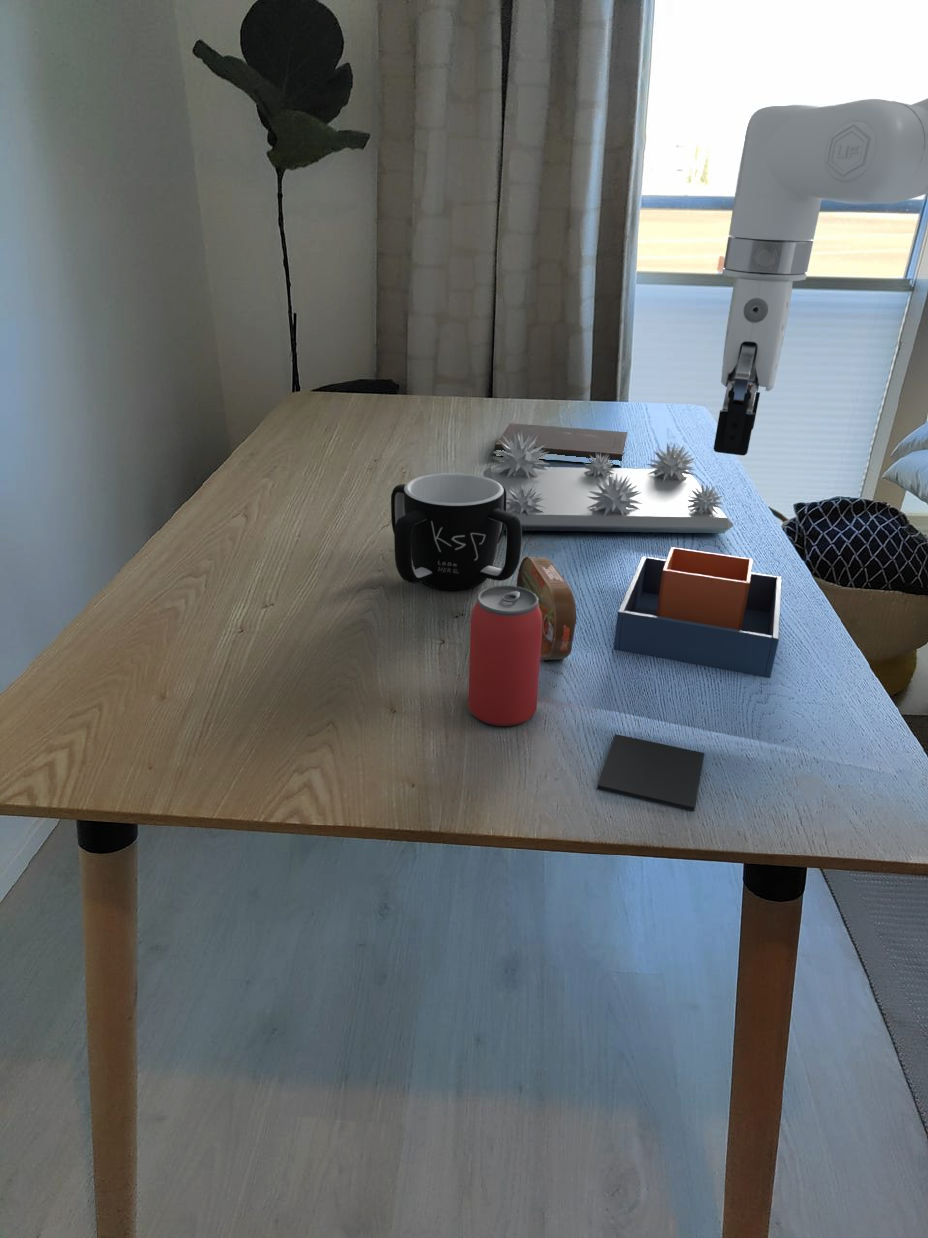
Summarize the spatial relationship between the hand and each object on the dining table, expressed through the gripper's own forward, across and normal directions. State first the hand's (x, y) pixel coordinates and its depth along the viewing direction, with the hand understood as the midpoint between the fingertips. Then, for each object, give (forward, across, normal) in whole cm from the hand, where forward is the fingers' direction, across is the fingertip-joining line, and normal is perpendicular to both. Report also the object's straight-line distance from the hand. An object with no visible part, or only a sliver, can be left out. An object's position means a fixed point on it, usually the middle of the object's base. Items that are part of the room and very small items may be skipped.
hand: (733, 440), depth 87 cm
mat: (+22, -29, +1) cm, 36 cm away
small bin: (+21, -1, 0) cm, 21 cm away
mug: (+23, +2, +31) cm, 39 cm away
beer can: (+22, -24, +16) cm, 37 cm away
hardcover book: (+23, +64, +32) cm, 76 cm away
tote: (+22, -1, 0) cm, 22 cm away
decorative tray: (+23, +36, +19) cm, 46 cm away
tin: (+22, -9, +16) cm, 29 cm away
